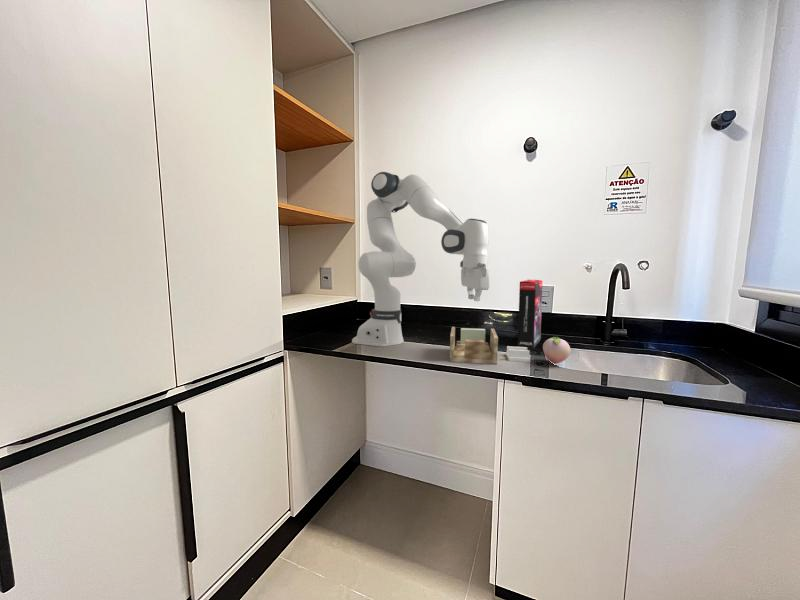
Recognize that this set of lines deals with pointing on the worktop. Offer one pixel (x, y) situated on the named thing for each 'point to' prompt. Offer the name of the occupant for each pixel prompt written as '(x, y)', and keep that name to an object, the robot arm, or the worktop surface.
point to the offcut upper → (474, 345)
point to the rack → (487, 355)
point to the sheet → (472, 334)
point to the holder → (518, 354)
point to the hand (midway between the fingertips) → (473, 300)
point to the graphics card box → (530, 313)
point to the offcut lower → (472, 354)
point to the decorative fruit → (556, 349)
